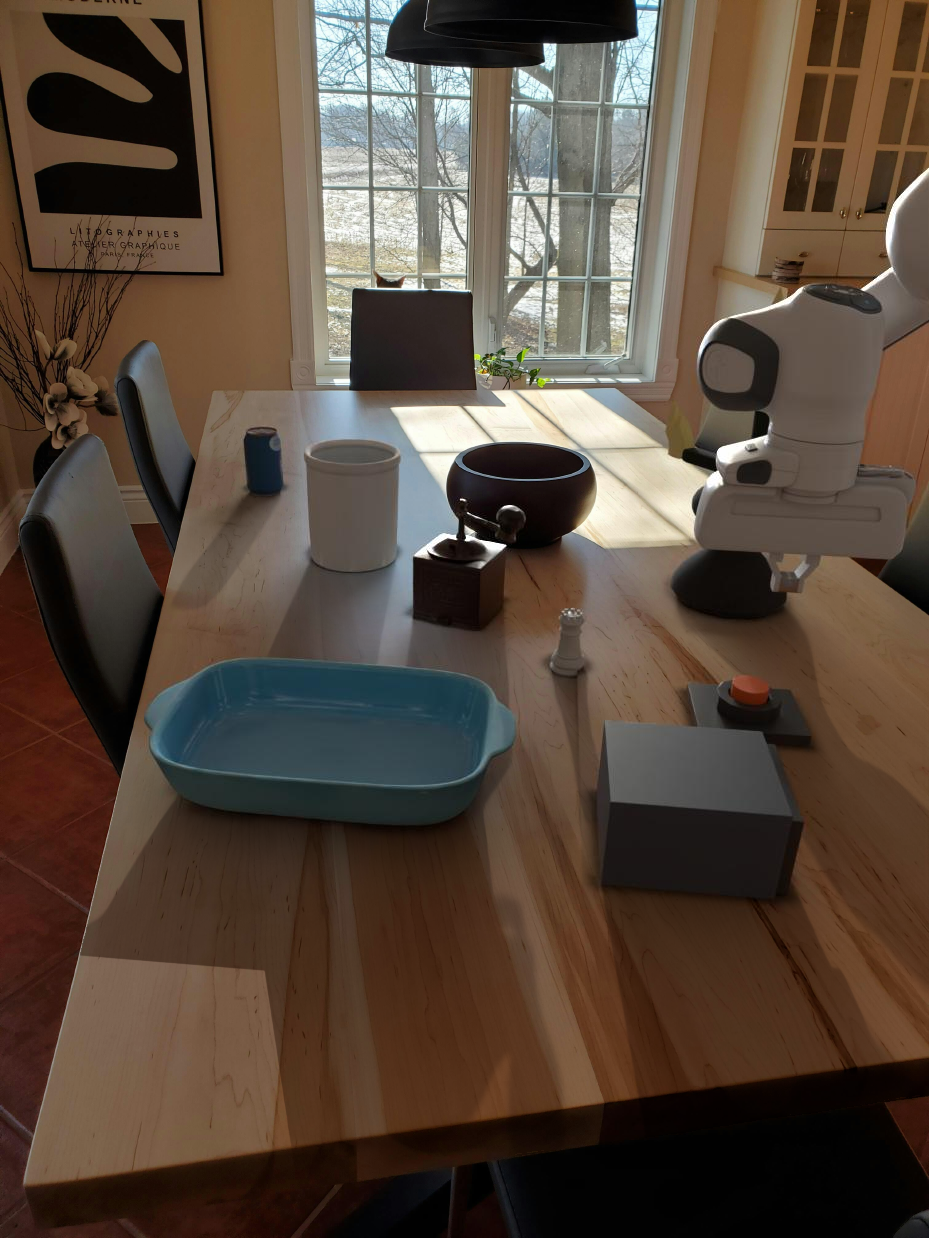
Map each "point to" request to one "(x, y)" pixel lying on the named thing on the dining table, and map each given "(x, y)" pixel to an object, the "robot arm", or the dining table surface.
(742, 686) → the button
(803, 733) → the button box
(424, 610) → the manual coffee grinder
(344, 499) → the utensil holder
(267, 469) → the soda can
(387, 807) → the casserole dish
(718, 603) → the black plant vase
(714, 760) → the cabinet
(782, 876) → the drawer
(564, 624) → the rook chess piece
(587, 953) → the dining table surface
